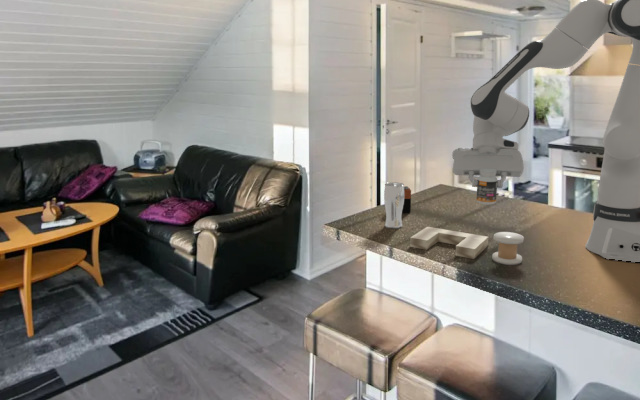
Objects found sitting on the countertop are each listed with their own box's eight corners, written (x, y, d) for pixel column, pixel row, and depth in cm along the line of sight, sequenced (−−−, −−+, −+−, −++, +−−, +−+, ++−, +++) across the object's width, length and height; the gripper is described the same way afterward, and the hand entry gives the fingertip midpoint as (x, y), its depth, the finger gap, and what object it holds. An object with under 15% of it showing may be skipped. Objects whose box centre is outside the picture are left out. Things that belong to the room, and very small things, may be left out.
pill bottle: (476, 204, 150) (478, 171, 147) (475, 199, 155) (477, 167, 152) (497, 205, 148) (499, 171, 146) (495, 200, 154) (497, 168, 151)
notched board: (487, 246, 156) (488, 236, 155) (474, 259, 146) (474, 249, 145) (427, 235, 167) (427, 226, 166) (410, 246, 157) (410, 237, 156)
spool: (525, 257, 146) (527, 234, 144) (517, 266, 139) (519, 242, 138) (496, 252, 150) (498, 230, 148) (488, 261, 144) (490, 237, 142)
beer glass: (401, 222, 181) (402, 181, 177) (405, 228, 174) (406, 186, 171) (382, 223, 181) (382, 182, 177) (385, 229, 174) (386, 186, 170)
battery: (391, 210, 197) (391, 185, 195) (408, 210, 197) (409, 185, 195) (392, 213, 193) (393, 187, 191) (410, 213, 193) (411, 187, 191)
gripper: (452, 141, 156) (451, 179, 150) (523, 142, 151) (525, 181, 144) (452, 153, 162) (450, 190, 155) (520, 155, 156) (522, 193, 150)
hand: (487, 186), depth 150 cm, fingers closed on pill bottle, 6 cm apart
